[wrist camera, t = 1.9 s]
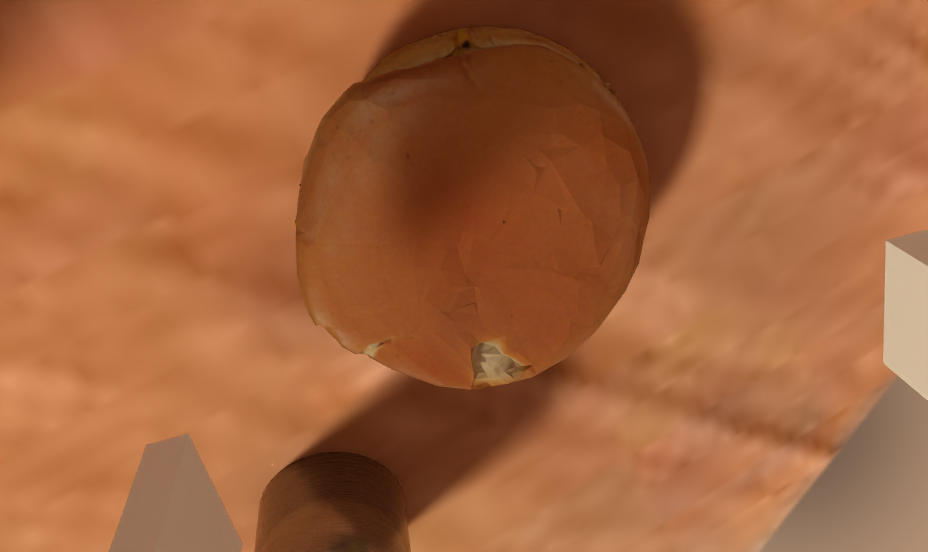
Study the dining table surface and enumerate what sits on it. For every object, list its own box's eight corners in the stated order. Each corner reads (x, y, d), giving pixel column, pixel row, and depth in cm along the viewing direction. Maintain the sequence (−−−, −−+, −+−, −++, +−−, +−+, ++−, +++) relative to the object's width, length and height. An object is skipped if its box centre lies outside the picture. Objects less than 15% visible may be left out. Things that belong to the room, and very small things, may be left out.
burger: (557, -40, 21) (614, -20, 16) (658, 246, 25) (723, 318, 21) (225, 124, 21) (199, 182, 17) (380, 375, 26) (389, 470, 21)
